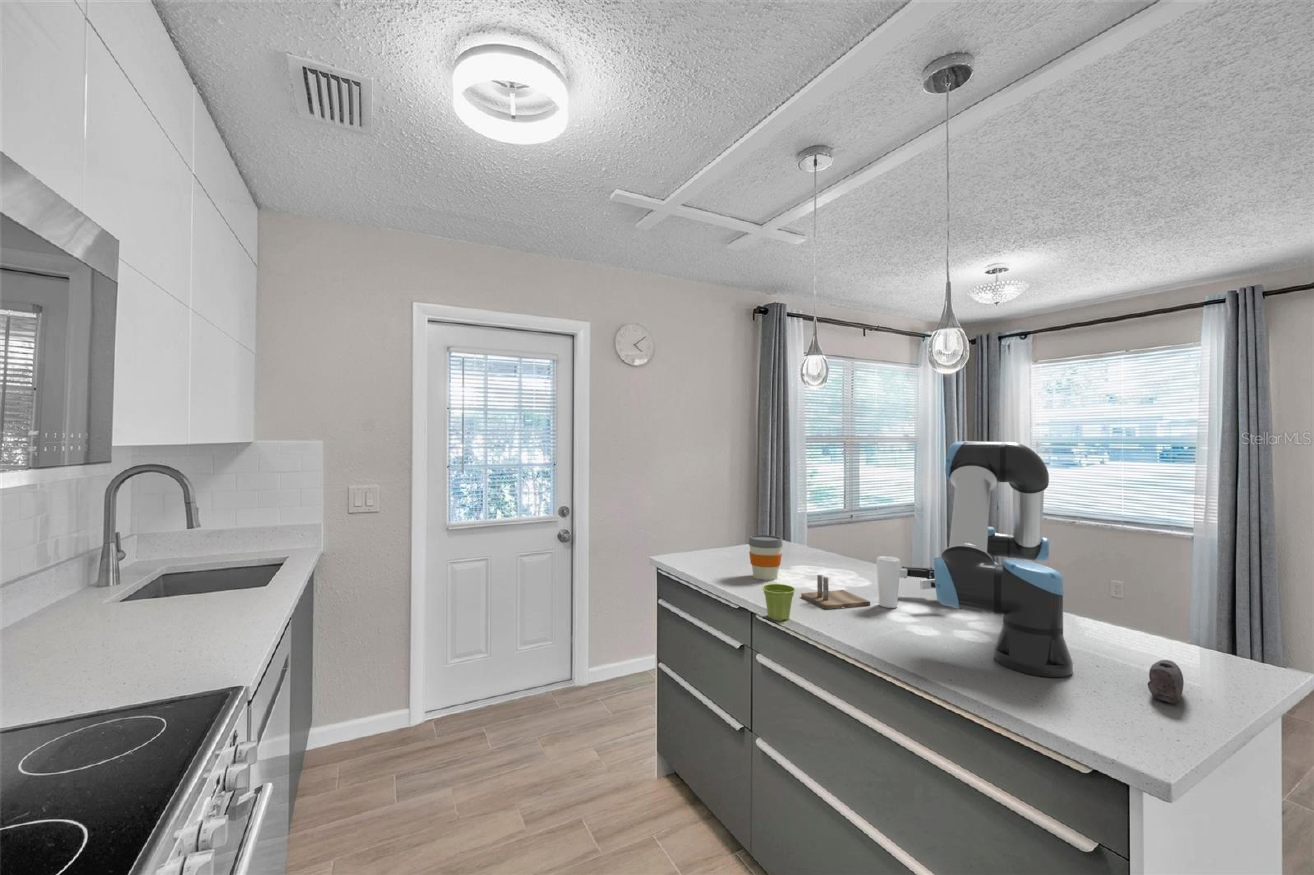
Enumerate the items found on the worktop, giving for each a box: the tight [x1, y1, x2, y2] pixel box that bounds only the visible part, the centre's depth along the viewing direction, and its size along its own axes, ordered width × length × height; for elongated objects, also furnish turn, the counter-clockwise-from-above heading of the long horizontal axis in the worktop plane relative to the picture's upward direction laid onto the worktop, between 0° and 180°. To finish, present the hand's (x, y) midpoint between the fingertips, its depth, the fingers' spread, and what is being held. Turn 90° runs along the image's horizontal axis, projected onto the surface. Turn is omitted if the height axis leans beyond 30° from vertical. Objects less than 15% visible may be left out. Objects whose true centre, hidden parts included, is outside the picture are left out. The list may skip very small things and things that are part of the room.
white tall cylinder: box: [876, 555, 901, 609], centre depth 172 cm, size 7×7×15 cm
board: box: [800, 574, 871, 610], centre depth 177 cm, size 16×14×8 cm
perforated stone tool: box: [1147, 659, 1184, 704], centre depth 113 cm, size 15×5×7 cm, turn 132°
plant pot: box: [761, 583, 796, 622], centre depth 160 cm, size 9×9×9 cm
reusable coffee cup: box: [748, 534, 783, 581], centre depth 207 cm, size 13×13×15 cm
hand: (904, 579), depth 174 cm, fingers open, 13 cm apart
